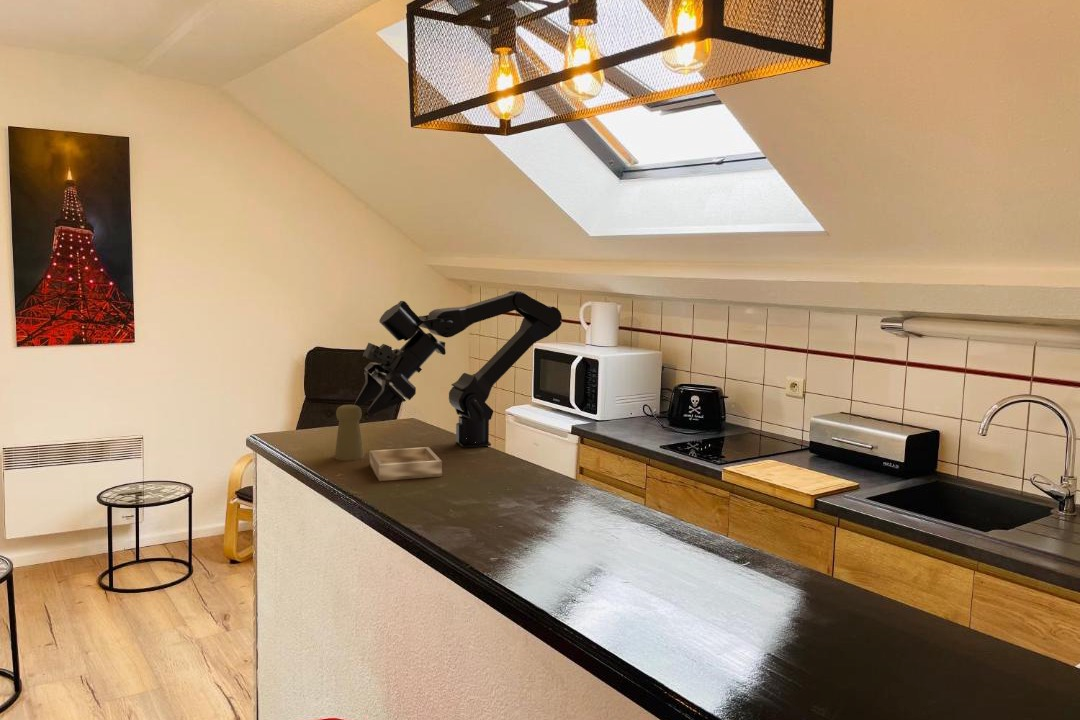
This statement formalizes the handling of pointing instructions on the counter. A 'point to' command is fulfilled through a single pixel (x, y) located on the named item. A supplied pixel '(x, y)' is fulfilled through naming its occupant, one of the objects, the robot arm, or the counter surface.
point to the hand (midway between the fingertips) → (362, 409)
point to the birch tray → (405, 463)
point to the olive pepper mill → (349, 433)
